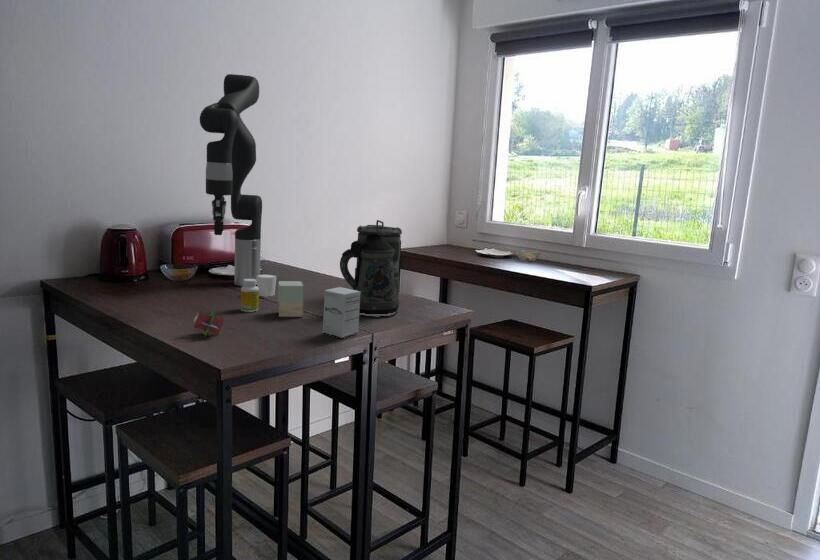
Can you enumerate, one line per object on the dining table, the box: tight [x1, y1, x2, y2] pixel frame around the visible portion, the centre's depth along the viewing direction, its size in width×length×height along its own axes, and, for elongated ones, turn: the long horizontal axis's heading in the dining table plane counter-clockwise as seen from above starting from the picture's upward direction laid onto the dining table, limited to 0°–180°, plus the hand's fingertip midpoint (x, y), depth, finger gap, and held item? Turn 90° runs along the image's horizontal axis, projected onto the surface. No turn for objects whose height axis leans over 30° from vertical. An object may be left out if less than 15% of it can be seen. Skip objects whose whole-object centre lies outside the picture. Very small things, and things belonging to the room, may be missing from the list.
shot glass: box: [256, 273, 277, 298], centre depth 210 cm, size 7×7×7 cm
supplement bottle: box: [240, 279, 260, 313], centre depth 188 cm, size 5×5×10 cm
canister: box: [354, 219, 403, 298], centre depth 214 cm, size 16×16×28 cm
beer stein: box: [339, 235, 400, 314], centre depth 195 cm, size 16×19×25 cm
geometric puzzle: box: [193, 309, 225, 338], centre depth 160 cm, size 7×7×8 cm
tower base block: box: [277, 298, 304, 317], centre depth 186 cm, size 7×7×5 cm
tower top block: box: [277, 280, 304, 303], centre depth 186 cm, size 7×7×5 cm
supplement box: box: [322, 286, 361, 337], centre depth 168 cm, size 7×7×13 cm
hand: (218, 233), depth 181 cm, fingers open, 8 cm apart
